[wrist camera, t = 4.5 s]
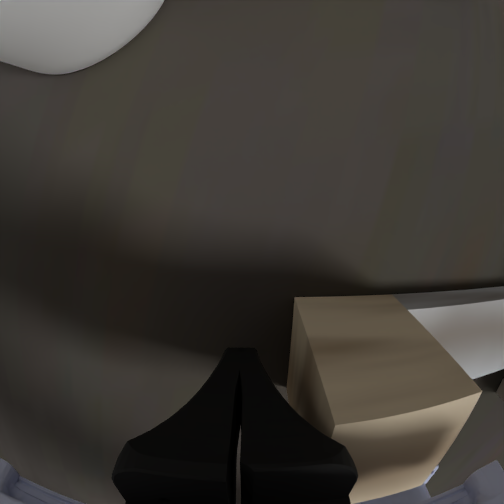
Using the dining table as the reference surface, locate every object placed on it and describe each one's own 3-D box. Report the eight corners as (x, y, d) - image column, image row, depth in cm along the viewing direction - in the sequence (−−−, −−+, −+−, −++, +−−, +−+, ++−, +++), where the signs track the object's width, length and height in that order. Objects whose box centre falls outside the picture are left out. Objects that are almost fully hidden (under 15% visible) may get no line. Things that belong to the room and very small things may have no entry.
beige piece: (532, 342, 14) (585, 388, 7) (286, 388, 14) (305, 511, 7) (552, 280, 13) (616, 319, 6) (294, 297, 12) (335, 425, 6)
